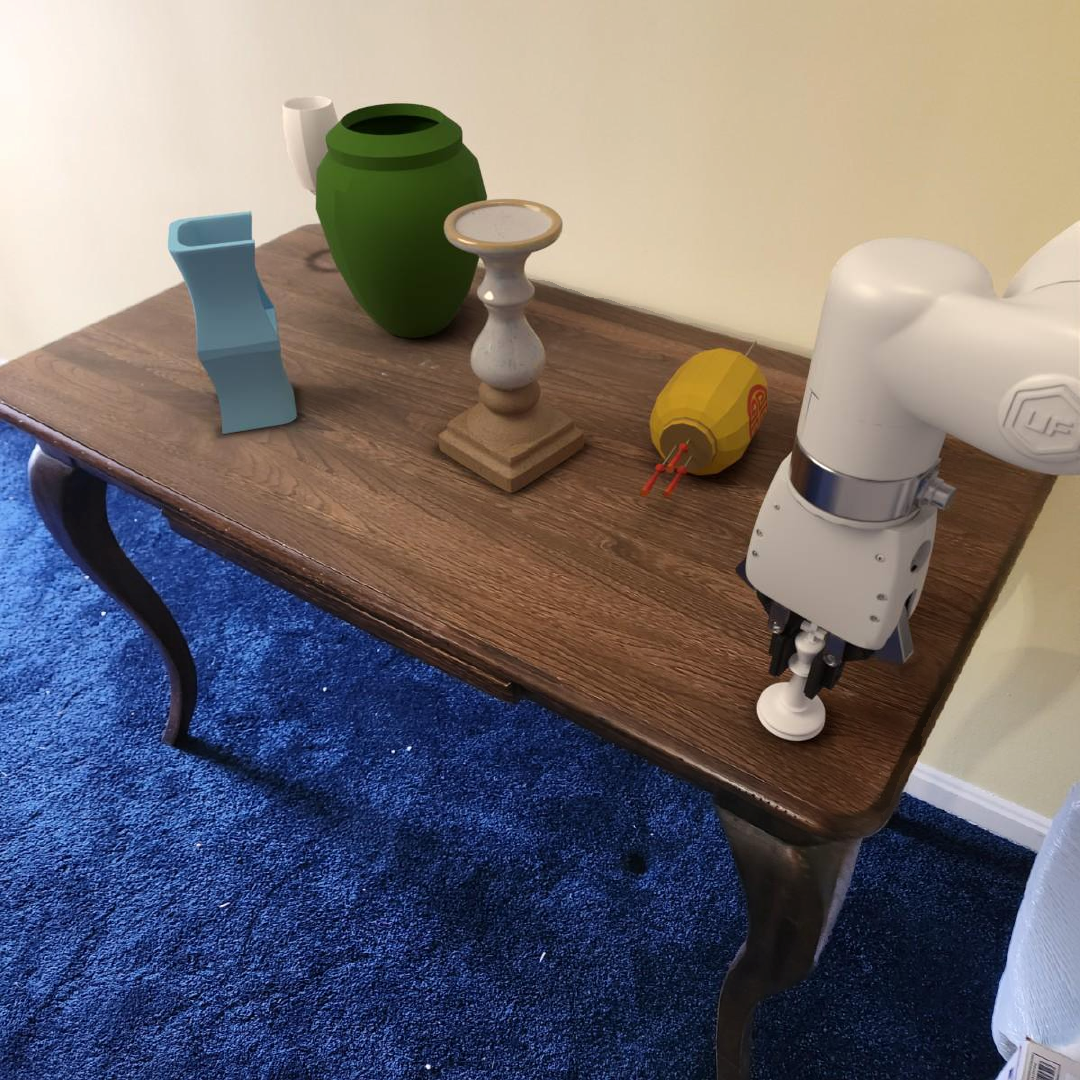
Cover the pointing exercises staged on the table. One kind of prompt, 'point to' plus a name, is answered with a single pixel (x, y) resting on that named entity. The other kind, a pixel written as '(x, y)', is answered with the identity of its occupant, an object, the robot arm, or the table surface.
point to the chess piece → (795, 693)
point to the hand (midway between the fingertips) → (801, 673)
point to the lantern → (707, 414)
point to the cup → (307, 135)
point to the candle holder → (507, 351)
